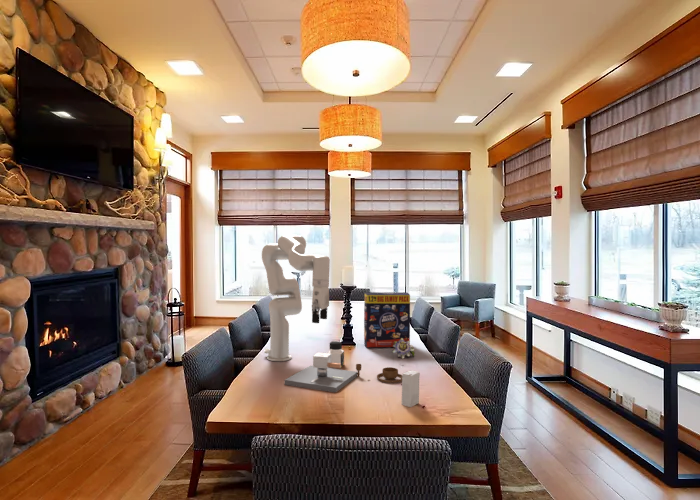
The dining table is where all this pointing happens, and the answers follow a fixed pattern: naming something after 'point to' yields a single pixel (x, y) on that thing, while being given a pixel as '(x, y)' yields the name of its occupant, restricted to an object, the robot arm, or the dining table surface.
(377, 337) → the cereal box
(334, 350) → the medicine bottle
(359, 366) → the tea set
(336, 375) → the base board
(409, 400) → the skincare box
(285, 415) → the dining table surface
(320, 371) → the steel post
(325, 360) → the mallet
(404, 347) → the passion flower
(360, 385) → the dining table surface
